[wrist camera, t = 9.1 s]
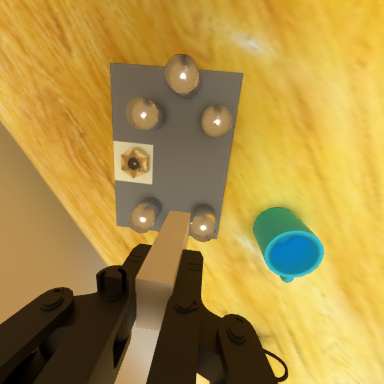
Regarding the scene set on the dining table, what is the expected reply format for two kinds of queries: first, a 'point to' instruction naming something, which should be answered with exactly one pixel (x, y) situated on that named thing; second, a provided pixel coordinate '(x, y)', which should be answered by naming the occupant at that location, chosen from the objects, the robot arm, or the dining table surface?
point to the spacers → (154, 119)
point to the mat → (172, 142)
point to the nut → (135, 162)
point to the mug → (287, 243)
